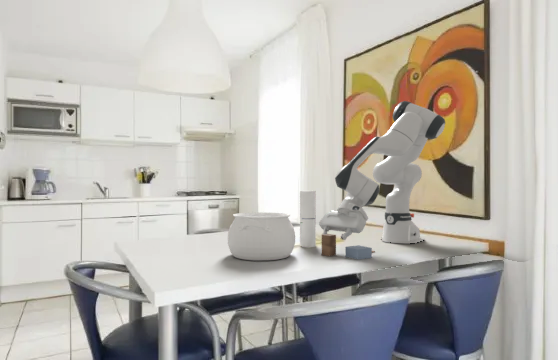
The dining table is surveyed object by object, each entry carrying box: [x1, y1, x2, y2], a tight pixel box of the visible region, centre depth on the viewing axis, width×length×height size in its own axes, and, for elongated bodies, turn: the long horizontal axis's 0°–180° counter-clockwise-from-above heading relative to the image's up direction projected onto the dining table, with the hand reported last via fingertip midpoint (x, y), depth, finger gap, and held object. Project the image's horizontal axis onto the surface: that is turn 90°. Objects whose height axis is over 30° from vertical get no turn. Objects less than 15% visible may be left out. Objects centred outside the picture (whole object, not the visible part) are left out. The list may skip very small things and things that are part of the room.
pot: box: [227, 212, 296, 262], centre depth 147 cm, size 29×26×16 cm
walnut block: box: [321, 233, 337, 257], centre depth 149 cm, size 4×4×8 cm
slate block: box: [344, 245, 373, 260], centre depth 144 cm, size 7×7×4 cm
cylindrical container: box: [299, 190, 317, 248], centre depth 170 cm, size 7×7×25 cm
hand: (333, 237), depth 149 cm, fingers open, 8 cm apart
